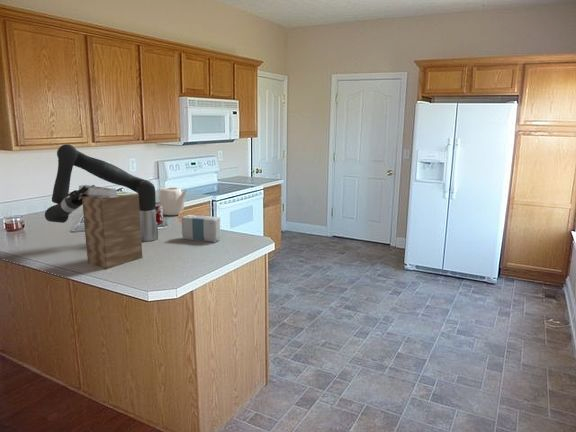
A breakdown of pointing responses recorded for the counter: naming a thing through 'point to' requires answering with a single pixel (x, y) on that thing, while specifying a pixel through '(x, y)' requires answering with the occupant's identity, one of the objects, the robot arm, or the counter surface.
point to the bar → (99, 191)
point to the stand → (112, 229)
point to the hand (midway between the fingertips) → (90, 187)
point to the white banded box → (201, 227)
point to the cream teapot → (172, 200)
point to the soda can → (159, 213)
